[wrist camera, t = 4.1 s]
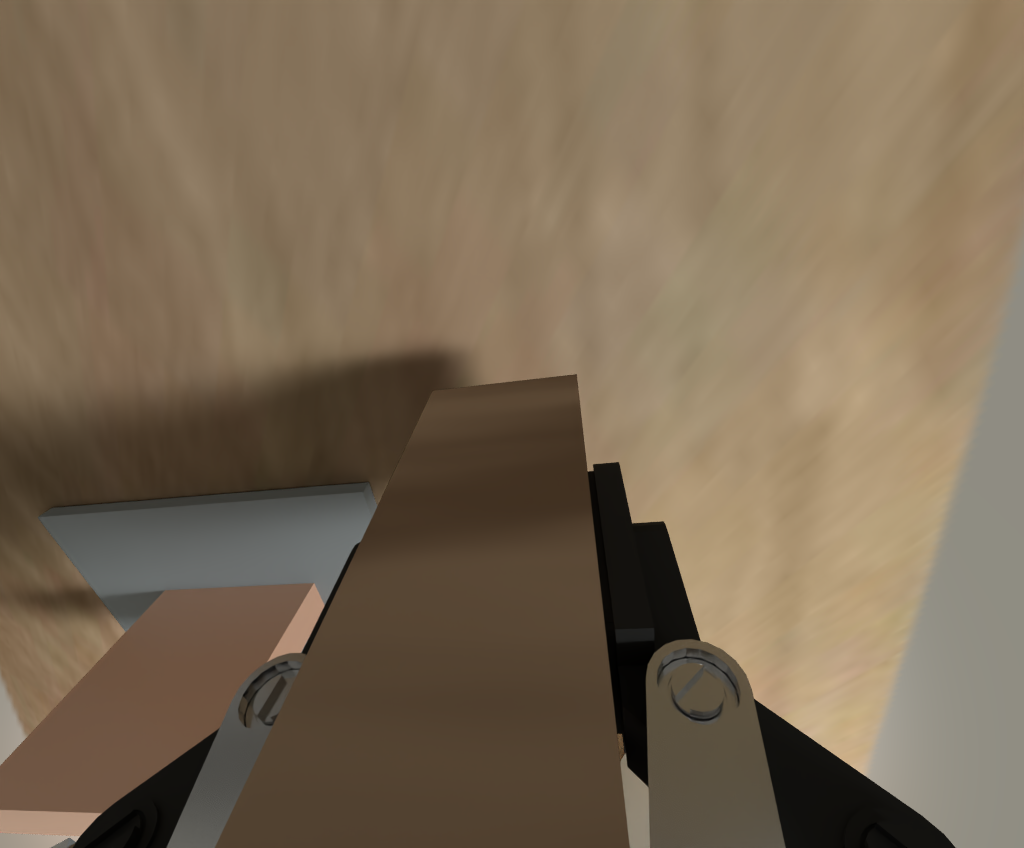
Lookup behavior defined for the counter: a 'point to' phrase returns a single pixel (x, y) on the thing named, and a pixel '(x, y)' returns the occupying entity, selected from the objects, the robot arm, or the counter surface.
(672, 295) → the counter surface
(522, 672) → the bar
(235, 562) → the mat
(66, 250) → the counter surface
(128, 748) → the tile
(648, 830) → the cup
